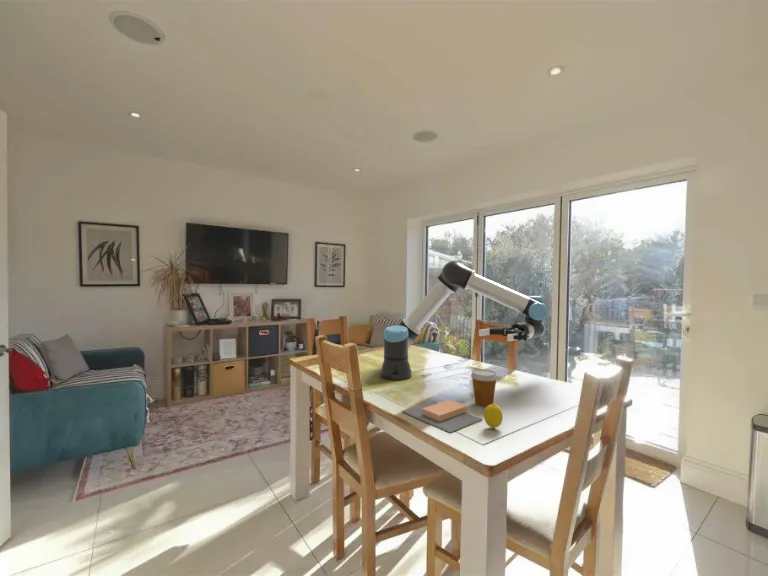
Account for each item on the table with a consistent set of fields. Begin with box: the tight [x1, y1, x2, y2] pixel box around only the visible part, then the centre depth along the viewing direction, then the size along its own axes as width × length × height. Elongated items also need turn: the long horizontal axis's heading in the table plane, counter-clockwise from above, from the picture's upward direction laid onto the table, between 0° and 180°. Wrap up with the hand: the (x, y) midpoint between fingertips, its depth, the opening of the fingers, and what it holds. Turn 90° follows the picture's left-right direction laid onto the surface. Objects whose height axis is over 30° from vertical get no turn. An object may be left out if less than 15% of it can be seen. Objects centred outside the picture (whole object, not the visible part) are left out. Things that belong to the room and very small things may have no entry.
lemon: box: [483, 402, 504, 430], centre depth 111 cm, size 6×6×8 cm
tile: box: [422, 399, 468, 422], centre depth 123 cm, size 8×2×14 cm
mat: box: [402, 400, 483, 434], centre depth 121 cm, size 22×16×1 cm
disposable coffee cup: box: [470, 368, 498, 408], centre depth 133 cm, size 10×10×12 cm
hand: (493, 335), depth 146 cm, fingers open, 13 cm apart
